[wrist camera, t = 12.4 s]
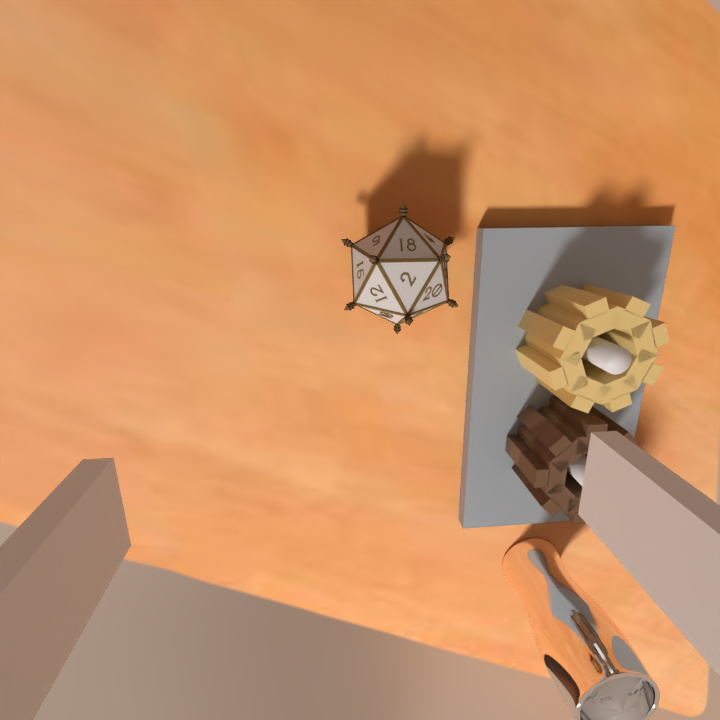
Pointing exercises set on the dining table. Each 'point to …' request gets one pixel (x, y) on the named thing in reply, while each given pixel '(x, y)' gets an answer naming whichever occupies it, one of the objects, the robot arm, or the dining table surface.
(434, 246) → the game die
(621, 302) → the gear
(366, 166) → the dining table surface
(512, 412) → the gear board
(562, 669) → the beer glass
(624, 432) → the walnut gear
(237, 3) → the dining table surface
